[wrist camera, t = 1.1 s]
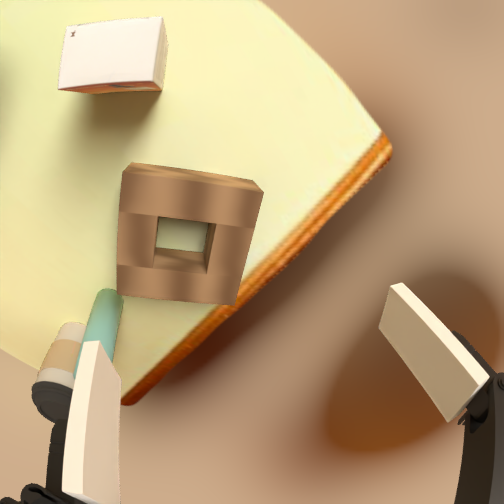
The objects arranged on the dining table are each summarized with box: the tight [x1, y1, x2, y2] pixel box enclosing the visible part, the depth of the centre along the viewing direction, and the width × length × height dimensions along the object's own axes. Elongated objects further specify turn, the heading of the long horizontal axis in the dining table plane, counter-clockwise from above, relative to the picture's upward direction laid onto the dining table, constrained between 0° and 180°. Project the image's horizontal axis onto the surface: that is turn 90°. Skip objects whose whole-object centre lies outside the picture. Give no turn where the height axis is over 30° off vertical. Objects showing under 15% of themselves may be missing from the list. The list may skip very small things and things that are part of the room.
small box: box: [58, 16, 168, 94], centre depth 19 cm, size 8×6×10 cm
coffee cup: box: [32, 322, 86, 423], centre depth 32 cm, size 9×9×15 cm
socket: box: [117, 163, 264, 305], centre depth 32 cm, size 14×14×5 cm
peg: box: [73, 289, 123, 380], centre depth 30 cm, size 4×4×14 cm
